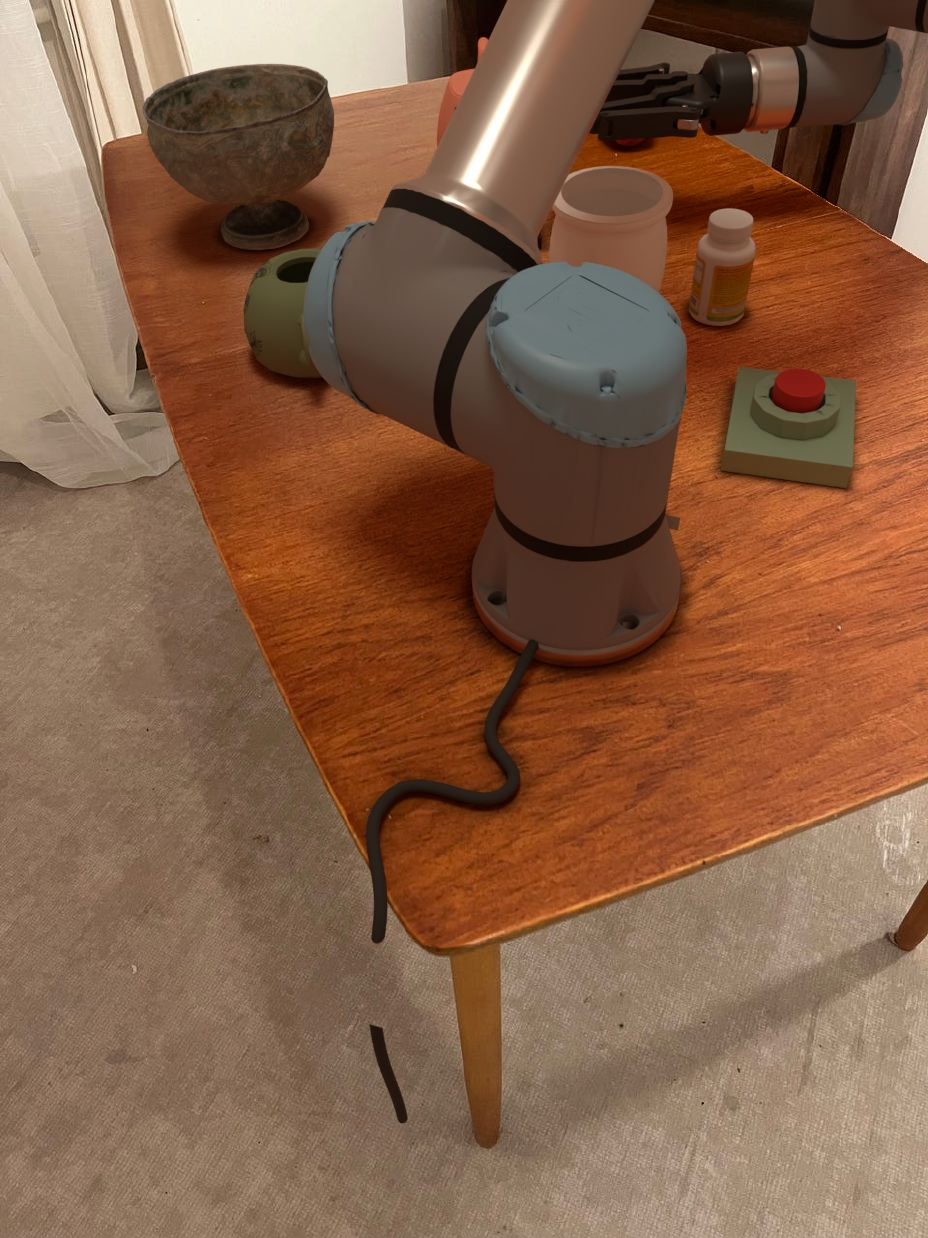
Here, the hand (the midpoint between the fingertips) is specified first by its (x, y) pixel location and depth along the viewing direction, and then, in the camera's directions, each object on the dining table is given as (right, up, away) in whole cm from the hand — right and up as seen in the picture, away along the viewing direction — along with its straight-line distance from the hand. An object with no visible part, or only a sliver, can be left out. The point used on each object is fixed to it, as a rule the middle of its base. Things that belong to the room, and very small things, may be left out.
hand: (520, 113), depth 100 cm
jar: (+7, -26, -6) cm, 27 cm away
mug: (-20, -27, -6) cm, 34 cm away
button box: (+22, -36, -17) cm, 45 cm away
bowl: (-29, -7, +13) cm, 32 cm away
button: (+22, -34, -19) cm, 44 cm away
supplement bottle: (+19, -22, -3) cm, 29 cm away
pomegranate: (+15, +9, +24) cm, 29 cm away
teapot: (-2, +3, +20) cm, 20 cm away
